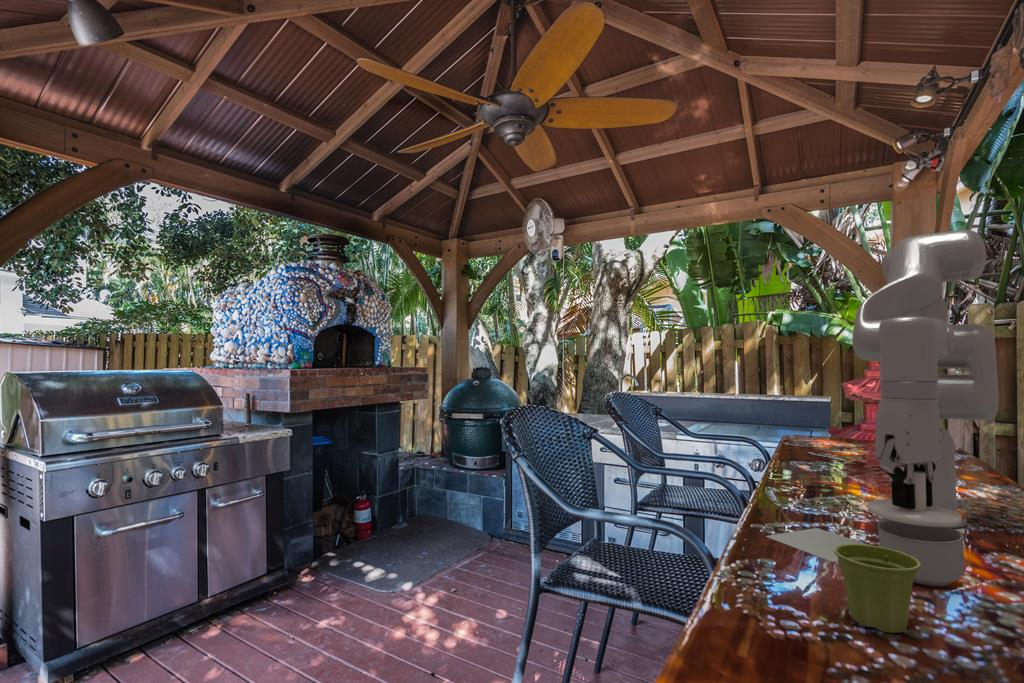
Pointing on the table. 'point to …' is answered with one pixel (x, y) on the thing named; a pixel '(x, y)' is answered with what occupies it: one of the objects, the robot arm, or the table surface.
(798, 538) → the mat
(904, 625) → the plant pot
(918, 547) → the teacup
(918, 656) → the table surface
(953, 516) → the lid
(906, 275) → the robot arm
